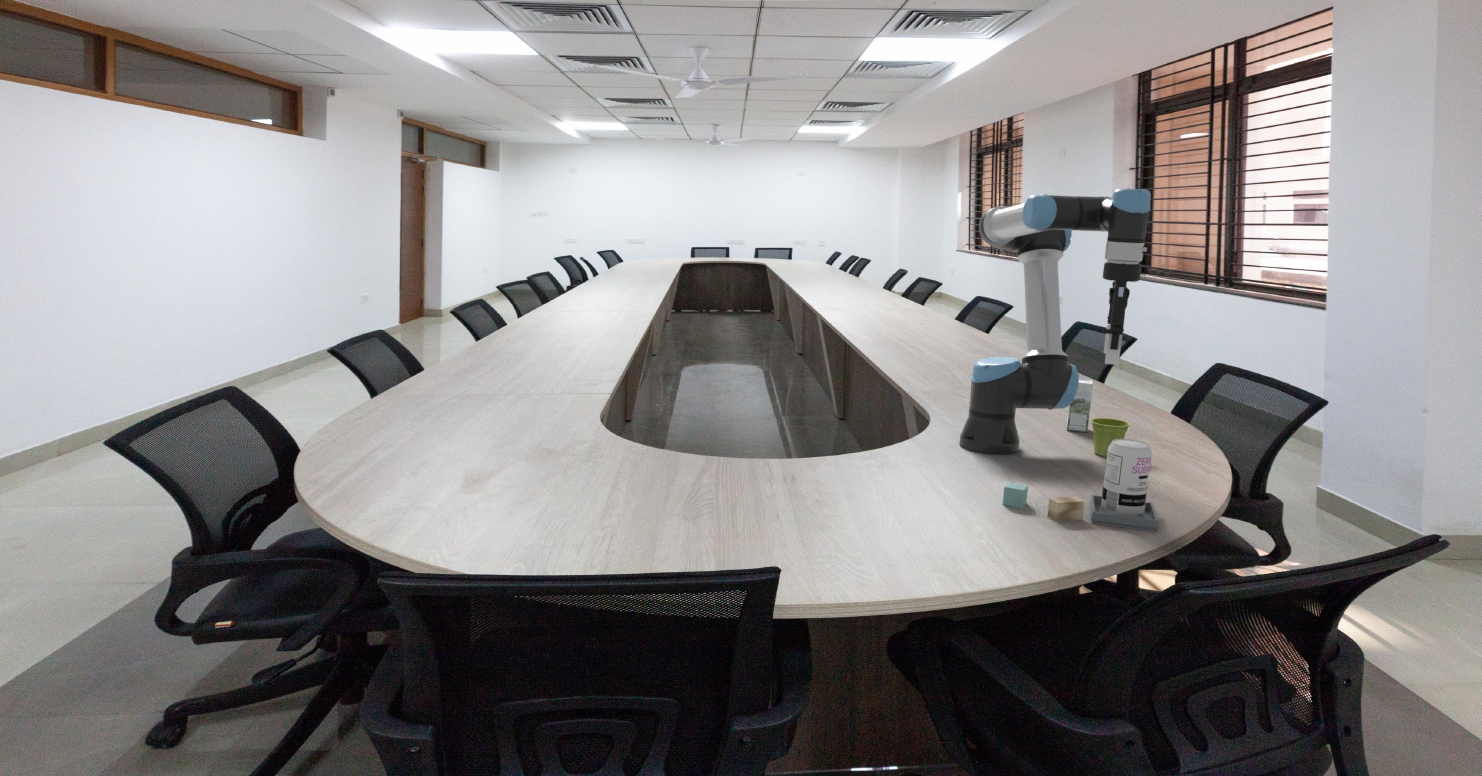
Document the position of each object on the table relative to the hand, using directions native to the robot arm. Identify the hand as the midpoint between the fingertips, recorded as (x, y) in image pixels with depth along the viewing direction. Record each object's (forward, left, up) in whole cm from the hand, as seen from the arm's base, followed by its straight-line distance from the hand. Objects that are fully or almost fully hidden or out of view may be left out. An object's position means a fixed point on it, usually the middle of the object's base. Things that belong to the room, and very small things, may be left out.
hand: (1110, 358), depth 199 cm
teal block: (-17, -22, -29) cm, 40 cm away
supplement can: (+4, -21, -29) cm, 36 cm away
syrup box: (-4, +57, -30) cm, 65 cm away
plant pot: (+3, +31, -30) cm, 43 cm away
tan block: (-7, -27, -29) cm, 40 cm away
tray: (+4, -22, -29) cm, 37 cm away
